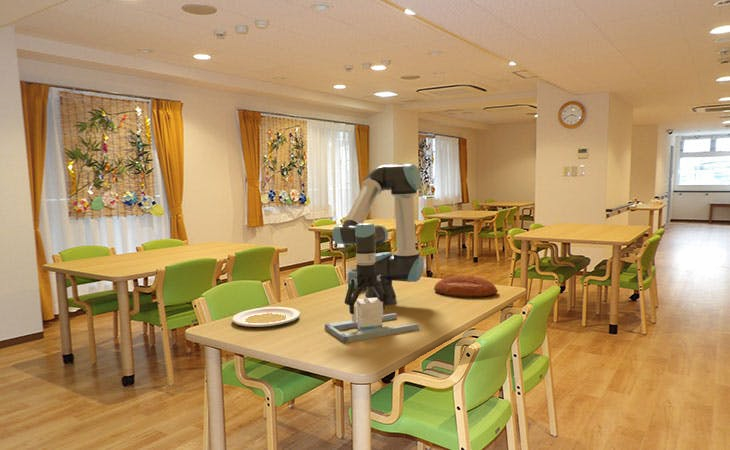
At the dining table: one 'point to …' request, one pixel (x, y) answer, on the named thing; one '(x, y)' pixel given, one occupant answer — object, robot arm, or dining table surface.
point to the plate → (289, 312)
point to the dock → (368, 333)
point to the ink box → (369, 313)
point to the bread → (465, 286)
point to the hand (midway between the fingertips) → (367, 319)
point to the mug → (353, 277)
